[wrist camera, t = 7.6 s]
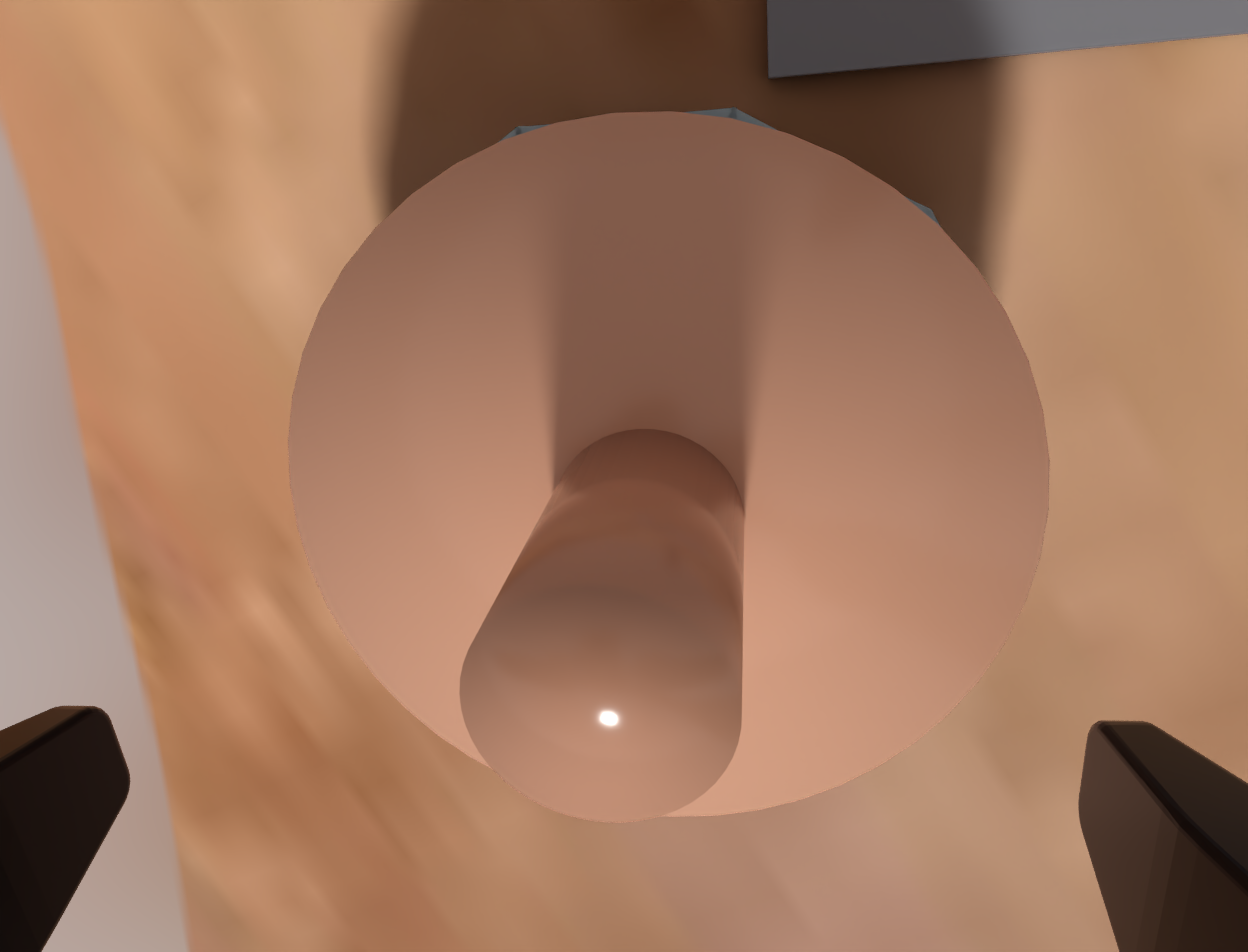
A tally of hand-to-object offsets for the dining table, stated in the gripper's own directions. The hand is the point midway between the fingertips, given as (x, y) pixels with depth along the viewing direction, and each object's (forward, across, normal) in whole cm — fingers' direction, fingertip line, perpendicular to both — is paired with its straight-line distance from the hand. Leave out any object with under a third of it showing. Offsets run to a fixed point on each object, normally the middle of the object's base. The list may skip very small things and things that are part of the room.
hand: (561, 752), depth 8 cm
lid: (+6, 0, 0) cm, 6 cm away
